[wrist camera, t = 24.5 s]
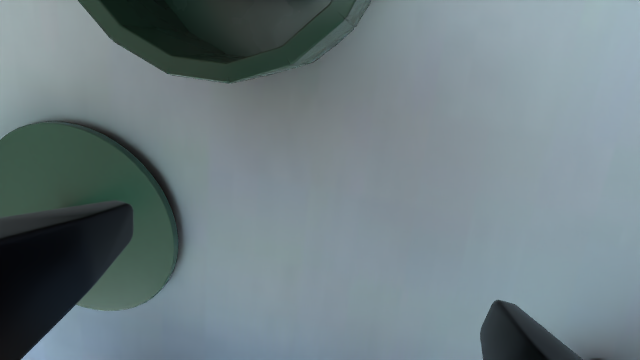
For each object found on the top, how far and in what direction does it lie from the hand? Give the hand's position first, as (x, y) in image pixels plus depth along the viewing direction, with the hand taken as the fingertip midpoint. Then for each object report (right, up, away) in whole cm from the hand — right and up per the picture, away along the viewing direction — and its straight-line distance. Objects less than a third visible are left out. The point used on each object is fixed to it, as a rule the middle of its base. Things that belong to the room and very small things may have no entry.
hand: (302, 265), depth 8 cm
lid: (-14, -1, +14) cm, 20 cm away
